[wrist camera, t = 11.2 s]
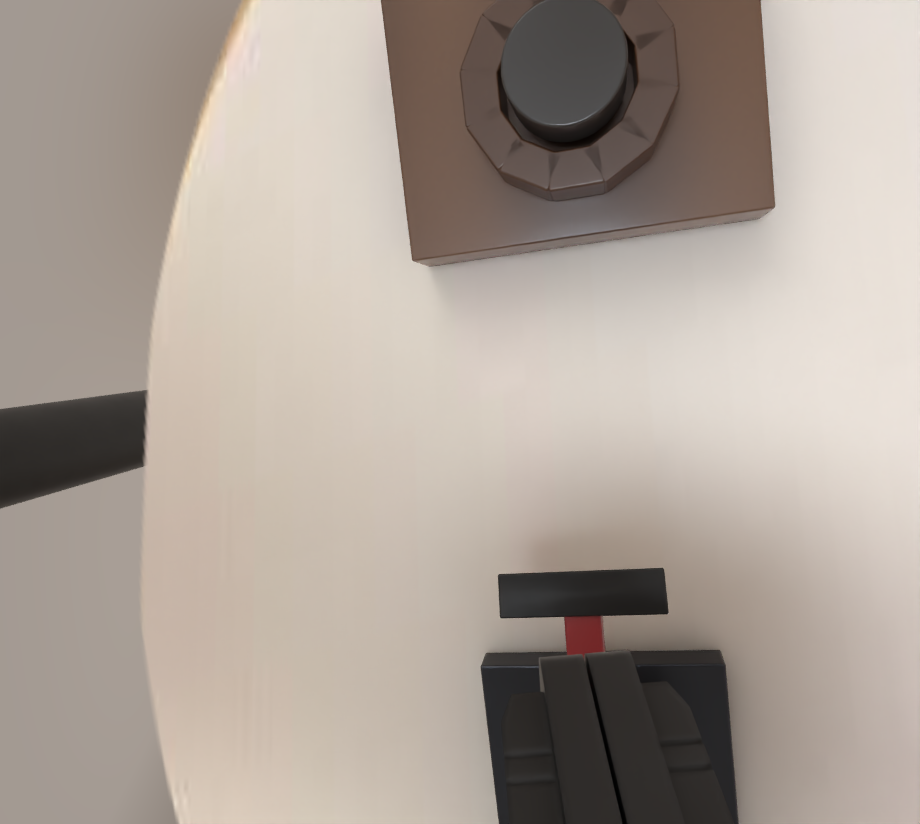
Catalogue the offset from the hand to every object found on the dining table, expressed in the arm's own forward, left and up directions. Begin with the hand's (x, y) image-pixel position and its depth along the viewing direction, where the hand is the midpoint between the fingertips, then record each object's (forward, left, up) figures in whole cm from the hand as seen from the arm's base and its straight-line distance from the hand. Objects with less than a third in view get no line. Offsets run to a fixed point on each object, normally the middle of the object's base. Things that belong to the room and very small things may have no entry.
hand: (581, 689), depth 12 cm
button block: (0, +14, -15) cm, 20 cm away
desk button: (0, +14, -11) cm, 18 cm away
